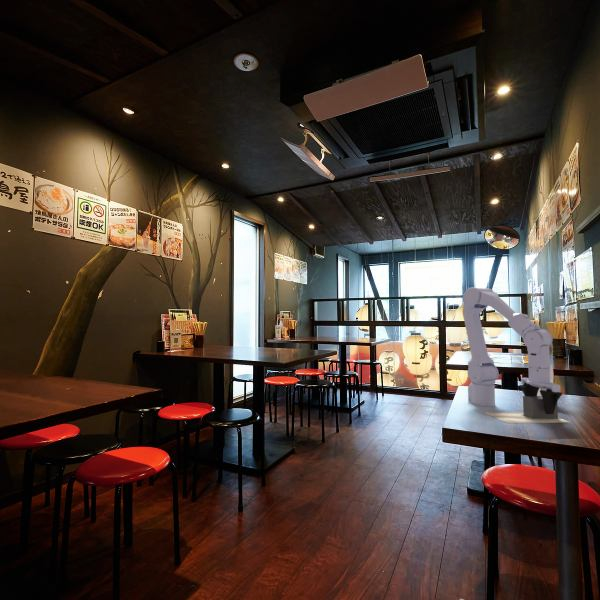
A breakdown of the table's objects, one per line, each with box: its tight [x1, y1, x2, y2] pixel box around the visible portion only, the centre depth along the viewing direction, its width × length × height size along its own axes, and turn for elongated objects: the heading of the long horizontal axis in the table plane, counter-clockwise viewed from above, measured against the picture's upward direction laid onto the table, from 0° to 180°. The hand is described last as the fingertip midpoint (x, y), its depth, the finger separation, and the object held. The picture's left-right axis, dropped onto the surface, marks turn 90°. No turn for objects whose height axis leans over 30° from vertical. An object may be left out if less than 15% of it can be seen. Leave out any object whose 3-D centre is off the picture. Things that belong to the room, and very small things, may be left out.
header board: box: [485, 411, 570, 424], centre depth 112 cm, size 12×20×4 cm, turn 93°
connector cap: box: [522, 395, 559, 419], centre depth 113 cm, size 4×8×6 cm, turn 93°
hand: (540, 410), depth 113 cm, fingers open, 7 cm apart
